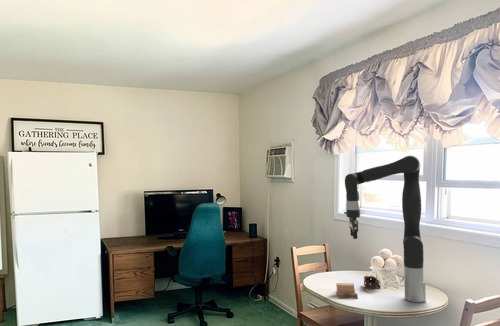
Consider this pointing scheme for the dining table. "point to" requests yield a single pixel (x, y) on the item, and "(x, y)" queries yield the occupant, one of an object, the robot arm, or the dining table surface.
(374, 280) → the dark brown rounded lump
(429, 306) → the dining table surface
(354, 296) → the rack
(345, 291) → the light brown block
